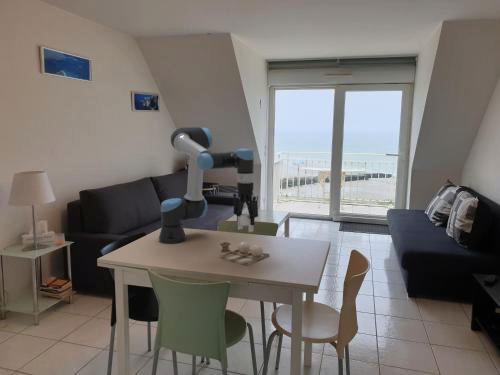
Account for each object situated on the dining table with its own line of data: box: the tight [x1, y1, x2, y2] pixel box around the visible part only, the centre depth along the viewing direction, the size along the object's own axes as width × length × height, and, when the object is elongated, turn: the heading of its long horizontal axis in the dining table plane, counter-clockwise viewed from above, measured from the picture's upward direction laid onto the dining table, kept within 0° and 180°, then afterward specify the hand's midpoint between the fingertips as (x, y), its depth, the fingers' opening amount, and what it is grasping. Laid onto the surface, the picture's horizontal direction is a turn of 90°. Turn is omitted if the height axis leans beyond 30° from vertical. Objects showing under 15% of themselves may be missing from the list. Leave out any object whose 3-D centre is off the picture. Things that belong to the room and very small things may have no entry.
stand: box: [219, 241, 231, 254], centre depth 207 cm, size 5×5×5 cm
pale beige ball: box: [237, 241, 251, 254], centre depth 203 cm, size 6×6×6 cm
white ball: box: [239, 213, 250, 227], centre depth 188 cm, size 6×6×6 cm
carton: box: [219, 248, 270, 267], centre depth 197 cm, size 18×18×2 cm
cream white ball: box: [250, 244, 264, 257], centre depth 197 cm, size 6×6×6 cm
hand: (245, 230), depth 189 cm, fingers closed on white ball, 6 cm apart
